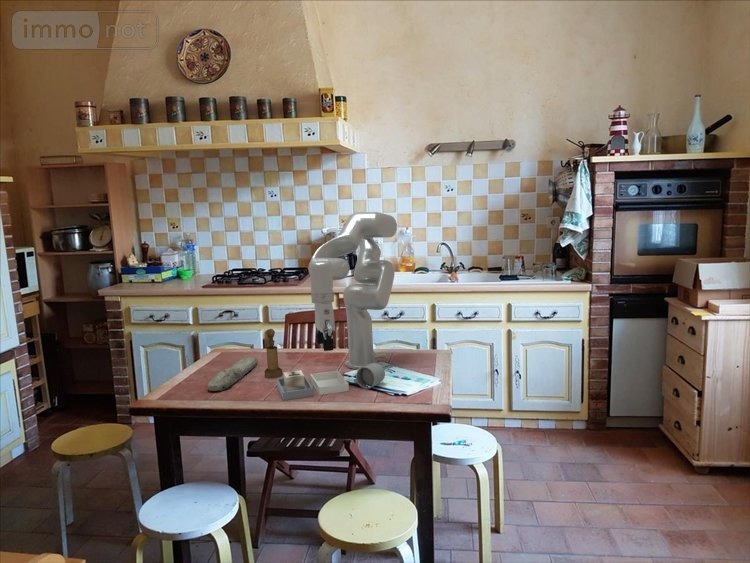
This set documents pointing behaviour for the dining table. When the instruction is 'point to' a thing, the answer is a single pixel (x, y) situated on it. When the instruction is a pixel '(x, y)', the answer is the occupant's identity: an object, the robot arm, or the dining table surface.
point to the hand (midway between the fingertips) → (325, 346)
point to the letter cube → (294, 380)
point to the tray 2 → (329, 382)
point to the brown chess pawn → (272, 358)
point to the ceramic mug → (370, 375)
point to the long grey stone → (231, 374)
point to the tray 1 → (297, 393)
